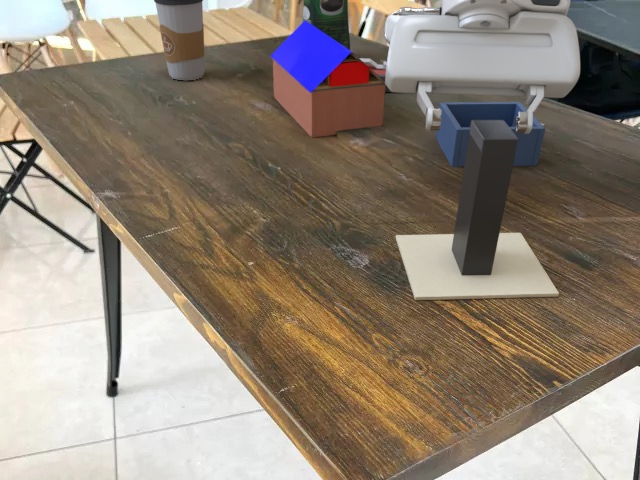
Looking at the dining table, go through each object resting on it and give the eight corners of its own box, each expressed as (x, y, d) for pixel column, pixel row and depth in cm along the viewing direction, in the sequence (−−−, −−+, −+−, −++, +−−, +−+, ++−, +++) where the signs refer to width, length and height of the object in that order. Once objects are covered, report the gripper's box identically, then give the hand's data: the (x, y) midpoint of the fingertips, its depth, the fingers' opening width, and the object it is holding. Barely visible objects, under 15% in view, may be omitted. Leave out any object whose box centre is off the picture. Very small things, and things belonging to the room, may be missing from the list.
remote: (481, 249, 69) (505, 119, 60) (493, 275, 65) (520, 139, 56) (450, 250, 69) (470, 119, 60) (461, 275, 65) (483, 139, 56)
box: (512, 139, 95) (520, 101, 92) (536, 169, 87) (545, 128, 83) (434, 140, 94) (439, 102, 91) (451, 170, 86) (456, 129, 83)
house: (337, 90, 113) (339, 17, 106) (385, 129, 98) (391, 48, 91) (271, 96, 110) (269, 22, 103) (310, 138, 95) (310, 55, 88)
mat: (520, 235, 72) (520, 232, 72) (558, 296, 62) (559, 293, 62) (395, 238, 71) (395, 235, 71) (414, 300, 62) (415, 297, 61)
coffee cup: (155, 75, 119) (142, -16, 110) (193, 67, 123) (184, -21, 114) (180, 86, 114) (169, -8, 105) (219, 77, 118) (211, -14, 109)
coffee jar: (340, 52, 133) (342, -51, 122) (354, 62, 127) (359, -45, 116) (295, 56, 130) (294, -49, 119) (308, 66, 124) (308, -43, 113)
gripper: (387, -12, 68) (381, 112, 66) (586, -7, 67) (585, 119, 65) (384, 24, 74) (378, 138, 72) (566, 29, 73) (565, 145, 71)
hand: (478, 129), depth 68 cm, fingers open, 8 cm apart
